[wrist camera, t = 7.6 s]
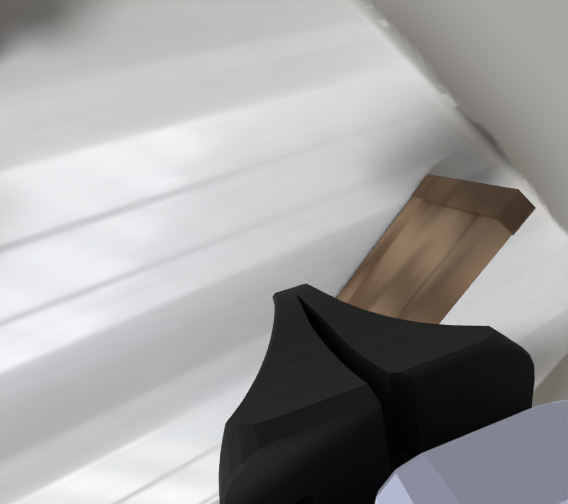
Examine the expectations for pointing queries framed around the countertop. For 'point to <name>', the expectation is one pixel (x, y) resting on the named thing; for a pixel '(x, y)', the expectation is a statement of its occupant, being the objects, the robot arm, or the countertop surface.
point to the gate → (436, 248)
